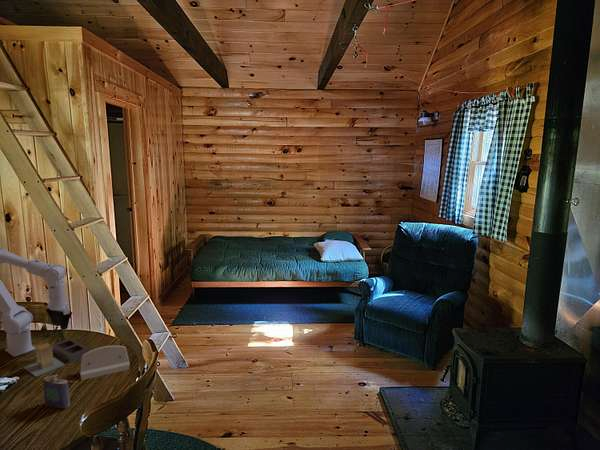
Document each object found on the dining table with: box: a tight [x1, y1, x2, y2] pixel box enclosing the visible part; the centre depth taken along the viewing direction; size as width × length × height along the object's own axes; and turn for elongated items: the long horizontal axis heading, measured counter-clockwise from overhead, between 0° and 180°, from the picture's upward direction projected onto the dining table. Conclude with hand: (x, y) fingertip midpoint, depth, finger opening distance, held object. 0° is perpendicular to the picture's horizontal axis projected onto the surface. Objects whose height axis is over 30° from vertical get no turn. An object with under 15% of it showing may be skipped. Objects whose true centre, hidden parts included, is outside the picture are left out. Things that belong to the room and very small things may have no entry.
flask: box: [42, 373, 71, 410], centre depth 122 cm, size 9×3×11 cm, turn 74°
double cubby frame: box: [51, 337, 91, 363], centre depth 156 cm, size 16×8×2 cm, turn 56°
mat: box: [23, 356, 66, 378], centre depth 145 cm, size 10×10×1 cm
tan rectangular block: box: [35, 342, 54, 369], centre depth 145 cm, size 4×4×8 cm
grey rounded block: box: [79, 344, 130, 381], centre depth 144 cm, size 17×5×10 cm, turn 119°
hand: (60, 326), depth 156 cm, fingers open, 7 cm apart
